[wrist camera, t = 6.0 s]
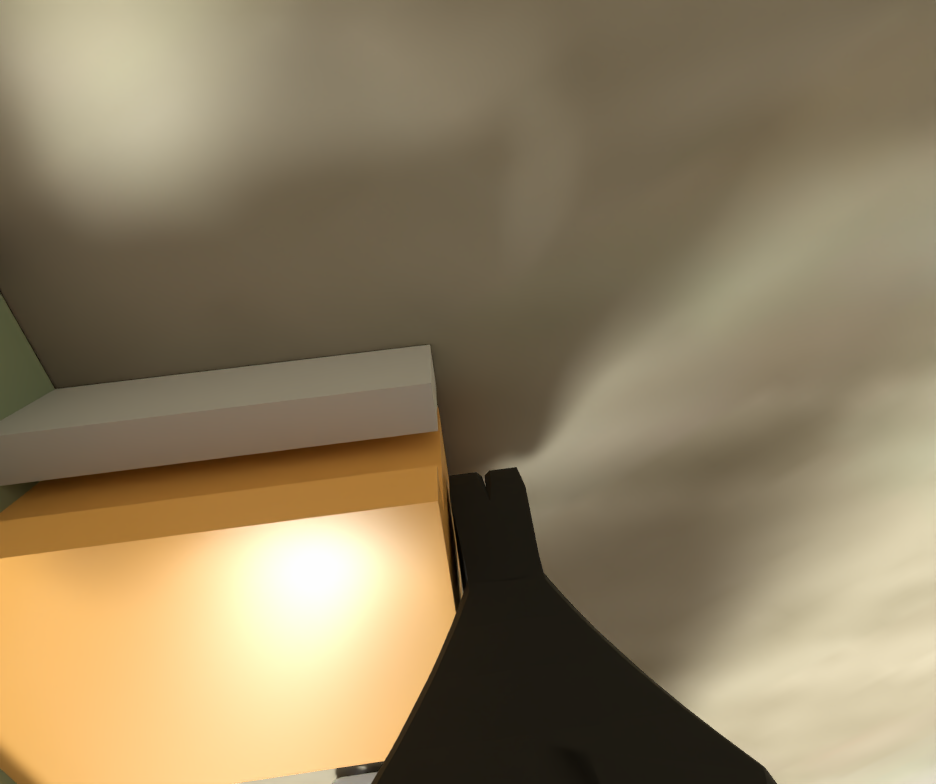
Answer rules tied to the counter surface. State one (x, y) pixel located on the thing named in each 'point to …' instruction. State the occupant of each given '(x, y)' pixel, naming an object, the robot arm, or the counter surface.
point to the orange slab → (224, 614)
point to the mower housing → (199, 413)
